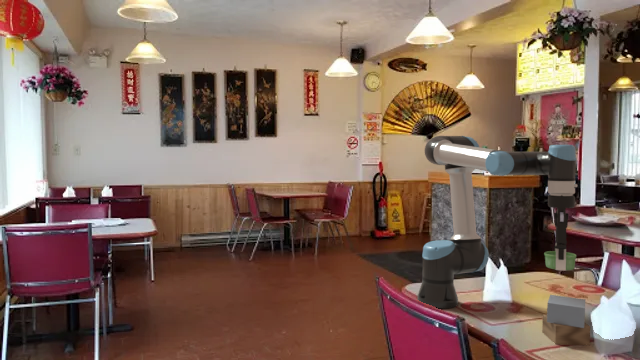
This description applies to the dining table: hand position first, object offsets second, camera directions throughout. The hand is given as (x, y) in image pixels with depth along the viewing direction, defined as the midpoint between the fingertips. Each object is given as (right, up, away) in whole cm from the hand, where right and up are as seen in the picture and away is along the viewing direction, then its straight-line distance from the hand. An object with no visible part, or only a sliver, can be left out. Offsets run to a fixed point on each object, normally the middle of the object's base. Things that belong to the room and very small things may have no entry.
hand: (560, 266), depth 151 cm
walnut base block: (+1, -22, -1) cm, 22 cm away
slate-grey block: (+1, -16, -1) cm, 16 cm away
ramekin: (0, 0, 0) cm, 1 cm away
